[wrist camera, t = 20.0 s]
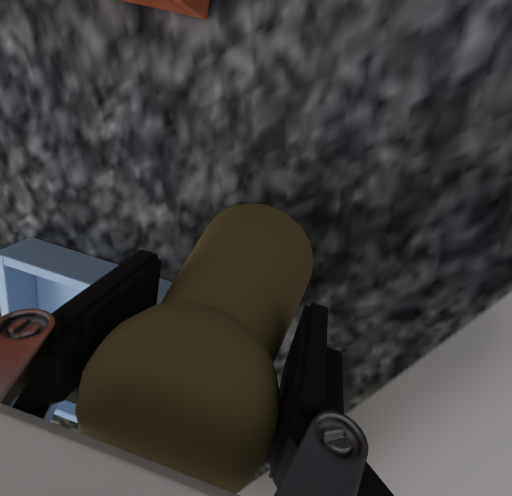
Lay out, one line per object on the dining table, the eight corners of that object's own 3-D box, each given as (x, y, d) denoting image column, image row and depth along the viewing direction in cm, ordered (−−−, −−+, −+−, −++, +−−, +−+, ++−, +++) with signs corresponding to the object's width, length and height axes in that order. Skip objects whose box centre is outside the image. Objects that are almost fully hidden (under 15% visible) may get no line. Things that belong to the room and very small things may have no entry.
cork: (338, 246, 16) (350, 468, 6) (273, 328, 19) (206, 577, 9) (233, 178, 16) (67, 290, 6) (182, 270, 18) (6, 456, 8)
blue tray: (205, 291, 19) (187, 316, 16) (180, 423, 23) (164, 456, 21) (31, 236, 20) (-8, 252, 18) (41, 371, 25) (11, 398, 22)
